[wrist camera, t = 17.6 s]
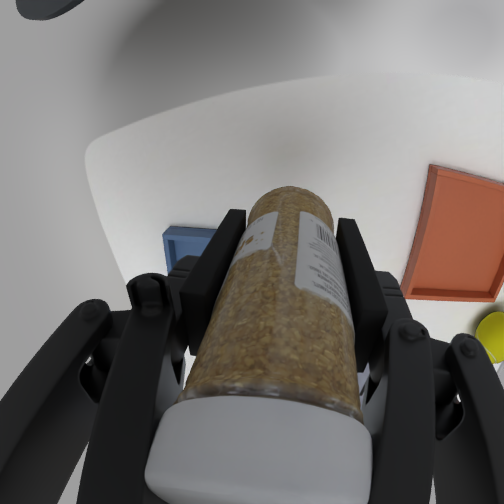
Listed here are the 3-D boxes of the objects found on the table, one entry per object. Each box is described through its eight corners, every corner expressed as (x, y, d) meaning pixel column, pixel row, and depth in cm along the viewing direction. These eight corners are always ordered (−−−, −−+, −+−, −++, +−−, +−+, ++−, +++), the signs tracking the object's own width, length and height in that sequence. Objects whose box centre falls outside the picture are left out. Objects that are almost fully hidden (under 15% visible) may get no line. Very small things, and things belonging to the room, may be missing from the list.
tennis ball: (500, 293, 27) (523, 326, 21) (508, 319, 29) (527, 350, 23) (462, 323, 30) (480, 359, 24) (474, 346, 32) (489, 380, 26)
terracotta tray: (429, 163, 23) (438, 168, 21) (521, 189, 21) (531, 195, 19) (399, 288, 30) (404, 299, 28) (487, 293, 28) (494, 302, 26)
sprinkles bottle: (239, 192, 15) (84, 460, 3) (328, 178, 14) (395, 498, 2) (259, 268, 17) (190, 518, 5) (338, 258, 16) (361, 528, 4)
